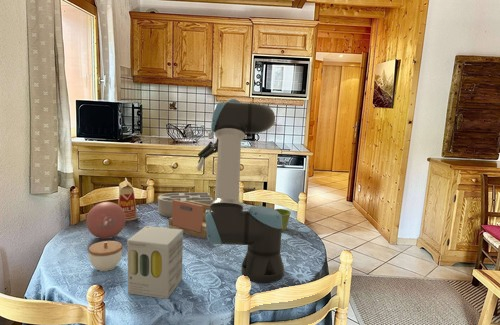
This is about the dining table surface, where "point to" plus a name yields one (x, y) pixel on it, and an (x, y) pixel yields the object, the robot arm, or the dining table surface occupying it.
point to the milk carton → (127, 200)
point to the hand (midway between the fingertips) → (210, 171)
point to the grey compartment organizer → (166, 200)
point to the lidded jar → (105, 255)
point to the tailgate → (187, 215)
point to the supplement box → (155, 261)
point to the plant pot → (284, 217)
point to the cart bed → (203, 231)
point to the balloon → (106, 220)
